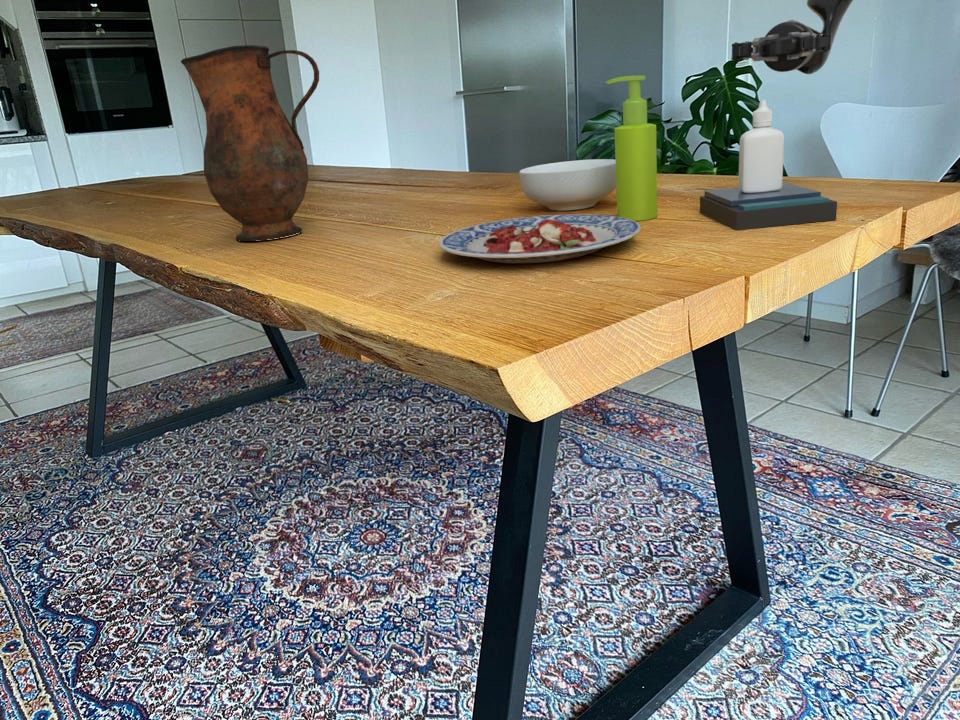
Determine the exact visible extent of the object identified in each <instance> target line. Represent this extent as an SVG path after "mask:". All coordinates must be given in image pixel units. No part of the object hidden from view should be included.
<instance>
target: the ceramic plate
mask: <svg viewBox="0 0 960 720" xmlns="http://www.w3.org/2000/svg"><path fill="white" fill-rule="evenodd" d="M640 231H641V225H640V223H638V221H633V220H630V219H627V218H621V217H617V215H605V214H586V213H585V214H583V213H582V214H578V213H577V214H576V213H575V214H573V213H572V214H568V213H567V214H549V215H547V214H546V215H545V214H544V215H536V216H526V217H525V216H524V217H514V218H508V219H502V220H496V221H489V222H485V223H484V222H483V223H480V224H475V225H472V226H469V227H464V228H461V229H458V230H455V231H453V232H450V233H448V234H446V235H445V236H443V237H442V238H441V239H440V240H439V241H438V245H439V247H440V248H441V249H442V250H443V251H444V252H447V253H450V254H454V255H458V256H463V257H472V258H476V259H479V260H483V261H486V262H491V263H500V264H542V263H550V262H560V261H565V260H569V259H570V260H571V259H575V258H580V257H584V256H587V255H590V254H593V253H595V252H598V251H599V250H602V249H603V248H606V247H609V246H614V245H617V244H619V243H622V242H625V241H628V240H630V239H632V238H633V237H635V236H636V235H638V234H639V233H640Z"/></svg>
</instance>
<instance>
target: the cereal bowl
mask: <svg viewBox="0 0 960 720" xmlns="http://www.w3.org/2000/svg"><path fill="white" fill-rule="evenodd" d="M518 174H519V175H518V176H519V182H520V186H521V189H522V192H523V193H524V195H525V196H526V197H527V198H528V199H529V200H531V201H532V202H534V203H536V204H538V205H543V206H545V207H547V208H548V210H551V211H558V212H566V211H576V210H577V211H578V210H584V209H590V208H593V207H595V206H596V204H597V203H598V202H599V201H601V200H603V199H604V198H606V197H608V196H609V195H611V194H612V193H613V192H615V190H616V159H612V158H608V159H607V158H598V159H597V158H596V159H595V158H594V159H593V158H591V159H579V160H569V161H568V160H567V161H566V160H565V161H558V162H553V163H552V162H551V163H544V164H538V165H533V166H529V167H525V168H522V169H521V170H519V172H518Z"/></svg>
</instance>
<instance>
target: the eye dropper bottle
mask: <svg viewBox="0 0 960 720" xmlns="http://www.w3.org/2000/svg"><path fill="white" fill-rule="evenodd" d="M767 104H768V103H767V100H766V99H761V100H759V103H758V107H757V109H755V110H754V111H753V112H752V129H750V130H747V131H745V132H744V133H743V134H741V136H740V137H739V148H738V149H739V151H738V182H737V183H738V189H739V191H740V192H743V193H761V192H770V191H776V190H780V189H781V188H782V183H783V177H784V175H783V174H784V153H785V151H784V150H785V149H784V148H785V134H784V133H783V131H782V130H780V129H777V128H774V127H772V126H773V110H772V109H770V108H769V107H768V105H767Z"/></svg>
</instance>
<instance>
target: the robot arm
mask: <svg viewBox="0 0 960 720" xmlns="http://www.w3.org/2000/svg"><path fill="white" fill-rule="evenodd" d="M853 1H854V0H806V5H807V7H808V8H809V9H810V10H811V12H813V13H814V14H815V15H817V17H819V18H820V20H821V22H822V23H823V26H822V29H821V31H819V30H816V29H814V28H812V27H811V26H808V25H806V24H804V23H802V22H800V21H798V20H795V19H789V20H787V21H783V22H780V23H778V24H776V25H774V26H773V27H772V28H771V29H769V30H768V32H767V33H766V34H765V35H764V36H760V37H755V38H753V40H751V41H749V40H745V41H743V42H738V41H737V42H733V43H731V60H730V61H733V62H737V61H747V60H749V59H751V60H752V61H753V62H762V61H763V62H764V64H765V66H767V67H768V68H769V69H771V70H772V71H775V72H777V73H787V72H791V71H795V70H796V71H798V72H800V73H802V74H804V75H812V74H815V73H817V72H818V71H819V70H821V69H822V68H823V67H824V66H825V64H826V62H827V61H828V59H829V57H830V53H831V51H832V48H833V44H834V41H835V37H836V35H837V32H838V29H839V27H840V25H841V23H842V21H843V19H844V16H845V14H846V13H847V11H848V10H849V7H850V5H851V4H852V3H853Z"/></svg>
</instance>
